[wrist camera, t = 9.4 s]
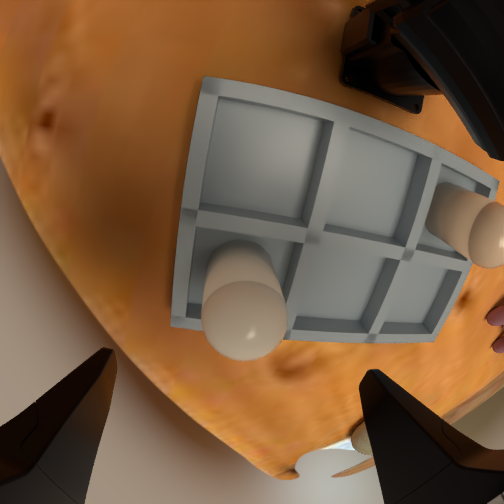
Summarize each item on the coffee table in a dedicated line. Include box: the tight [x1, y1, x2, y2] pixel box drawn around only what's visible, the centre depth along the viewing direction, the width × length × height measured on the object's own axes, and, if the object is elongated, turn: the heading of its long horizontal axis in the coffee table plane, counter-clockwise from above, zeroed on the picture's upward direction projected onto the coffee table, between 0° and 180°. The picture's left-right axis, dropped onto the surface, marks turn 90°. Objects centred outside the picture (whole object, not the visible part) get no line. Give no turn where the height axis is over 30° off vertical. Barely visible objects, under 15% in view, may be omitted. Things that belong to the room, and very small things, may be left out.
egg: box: [201, 239, 288, 361], centre depth 17 cm, size 5×5×8 cm
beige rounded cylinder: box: [425, 182, 504, 269], centre depth 16 cm, size 5×5×8 cm
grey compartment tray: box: [171, 76, 499, 343], centre depth 19 cm, size 24×16×2 cm
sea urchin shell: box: [351, 421, 373, 455], centre depth 31 cm, size 9×8×8 cm
